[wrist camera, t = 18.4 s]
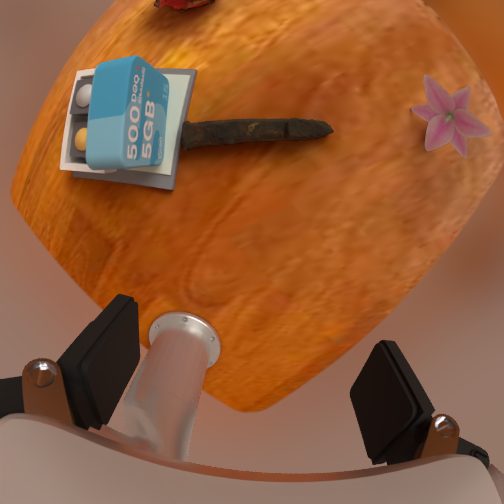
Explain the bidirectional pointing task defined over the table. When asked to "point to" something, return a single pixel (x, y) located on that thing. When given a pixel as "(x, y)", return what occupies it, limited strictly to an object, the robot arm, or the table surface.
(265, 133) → the hand tool
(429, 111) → the lily
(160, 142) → the data package
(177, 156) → the board
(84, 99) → the grey square block
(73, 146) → the tagged breaker
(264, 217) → the table surface
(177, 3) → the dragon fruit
